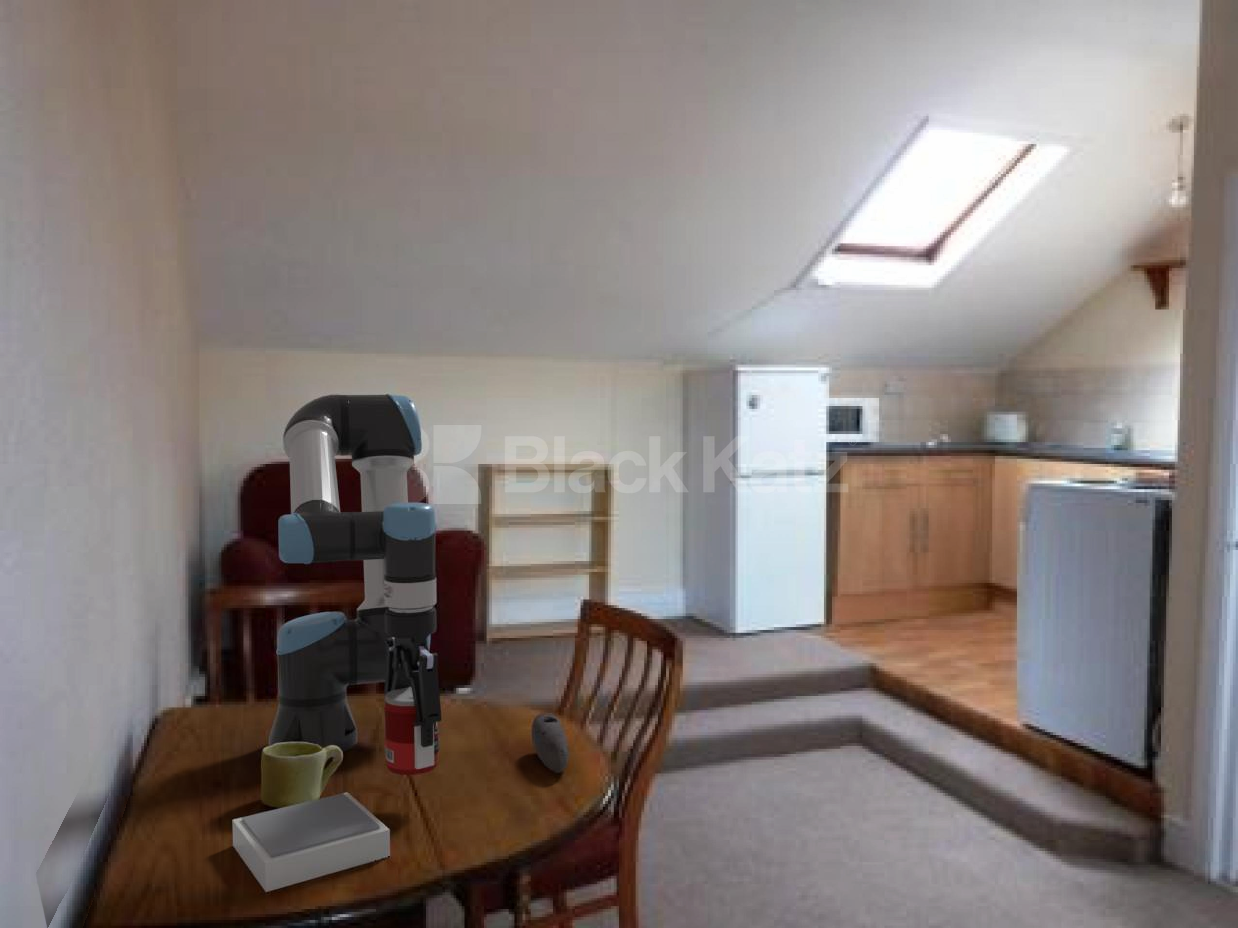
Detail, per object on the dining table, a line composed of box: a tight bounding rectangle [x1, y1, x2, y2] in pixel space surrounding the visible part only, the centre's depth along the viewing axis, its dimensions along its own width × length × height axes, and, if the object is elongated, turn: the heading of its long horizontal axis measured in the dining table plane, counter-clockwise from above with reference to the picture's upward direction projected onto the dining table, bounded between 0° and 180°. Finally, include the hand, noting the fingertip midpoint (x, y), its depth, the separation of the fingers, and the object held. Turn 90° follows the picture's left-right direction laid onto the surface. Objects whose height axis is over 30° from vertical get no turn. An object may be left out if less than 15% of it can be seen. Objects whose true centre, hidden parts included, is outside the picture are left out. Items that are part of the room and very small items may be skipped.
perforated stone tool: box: [531, 712, 569, 774], centre depth 158 cm, size 15×5×7 cm, turn 13°
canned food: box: [384, 686, 440, 776], centre depth 139 cm, size 8×8×11 cm
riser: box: [231, 791, 391, 893], centre depth 125 cm, size 16×16×4 cm
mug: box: [260, 742, 344, 809], centre depth 143 cm, size 12×10×10 cm
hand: (412, 757), depth 140 cm, fingers closed on canned food, 8 cm apart
